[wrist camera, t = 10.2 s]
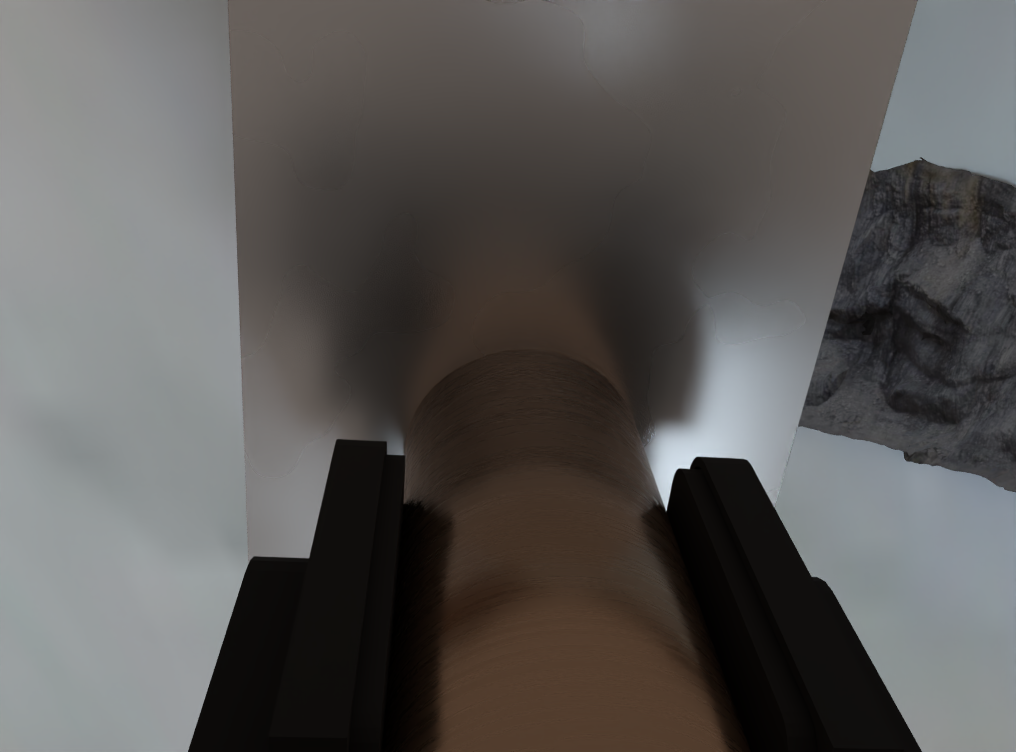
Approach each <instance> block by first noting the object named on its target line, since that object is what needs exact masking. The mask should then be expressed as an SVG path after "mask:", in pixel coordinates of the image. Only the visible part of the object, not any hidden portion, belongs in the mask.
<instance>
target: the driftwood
mask: <svg viewBox="0 0 1016 752" xmlns="http://www.w3.org/2000/svg"><path fill="white" fill-rule="evenodd" d="M921 159H922V160H915V161H914V162H910V163H907V164H904V165H901V166H898V167H894V168H891V169H888V170H883V171H878V172H875V173H874V172H873V171H872V170H870V171H869V175H868V178H867V182H866V185H865V189H864V193H863V196H862V200H861V203H860V207H859V210H858V214H857V217H856V221H855V225H854V228H853V232H852V235H851V239H850V242H849V246H848V249H847V253H846V257H845V260H844V264H843V267H842V271H841V274H840V278H839V281H838V285H837V289H836V292H835V296H834V299H833V303H832V306H831V310H830V313H829V317H828V321H827V324H826V328H825V331H824V335H823V338H822V342H821V345H820V349H819V353H818V356H817V360H816V363H815V367H814V370H813V374H812V377H811V381H810V385H809V388H808V392H807V395H806V399H805V402H804V406H803V409H802V413H801V416H800V420H799V424H798V427H800V426H803V427H807V428H811V429H815V430H820V431H821V432H824V433H828V434H832V435H843V436H846V437H849V438H852V439H858V440H866V441H870V442H874V443H877V444H880V445H885V446H887V447H889V448H891V449H895V450H898V449H899V450H901V451H903V452H904V458H905V460H906V461H912V462H914V463H918V464H929V465H931V466H936V465H938V466H942V467H944V468H947V469H950V470H953V471H961V472H967V473H972V474H976V475H980V476H982V477H985V478H987V479H988V480H990V481H991V482H993V483H994V484H995V485H997V486H999V487H1004V489H1005V490H1008V491H1013V492H1016V188H1015V187H1013V186H1011V185H1008V184H1005V183H1002V182H999V181H995V180H991V179H988V178H985V177H982V176H976V175H975V176H972V174H971V173H970V172H969V171H964V170H953V169H947V168H944V167H940V166H937V165H935V164H932V163H930V162H927V161H926V160H924V159H923V158H921Z"/></svg>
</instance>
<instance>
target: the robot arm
mask: <svg viewBox="0 0 1016 752" xmlns="http://www.w3.org/2000/svg"><path fill="white" fill-rule="evenodd" d="M404 483H405V455H387V441H369V440H348V439H337V440H336V442H335V446H334V451H333V455H332V459H331V464H330V468H329V473H328V477H327V481H326V486H325V490H324V495H323V499H322V503H321V508H320V512H319V517H318V521H317V525H316V530H315V534H314V539H313V543H312V547H311V552H310V556H309V558H288V557H261V556H254V557H253V558H252V559H251V560H250V562H249V564H248V567H247V569H246V572H245V575H244V578H243V581H242V584H241V587H240V591H239V594H238V597H237V600H236V603H235V606H234V609H233V612H232V616H231V619H230V622H229V625H228V628H227V631H226V634H225V638H224V641H223V644H222V647H221V650H220V653H219V656H218V659H217V663H216V666H215V669H214V672H213V675H212V678H211V681H210V684H209V688H208V691H207V694H206V697H205V700H204V703H203V706H202V710H201V713H200V716H199V719H198V722H197V725H196V728H195V731H194V735H193V738H192V741H191V744H190V747H189V750H188V752H382V744H383V733H384V721H385V710H386V699H387V687H388V676H389V664H390V653H391V642H392V630H393V619H394V607H395V596H396V585H397V573H398V562H399V550H400V539H401V528H402V516H403V505H404ZM666 512H667V515H668V518H669V521H670V524H671V526H672V529H673V532H674V535H675V538H676V541H677V543H678V546H679V549H680V552H681V555H682V558H683V560H684V563H685V566H686V569H687V572H688V575H689V578H690V580H691V583H692V586H693V589H694V592H695V595H696V597H697V600H698V603H699V606H700V609H701V612H702V614H703V617H704V620H705V623H706V626H707V629H708V631H709V634H710V637H711V640H712V643H713V646H714V648H715V651H716V654H717V657H718V660H719V663H720V665H721V668H722V671H723V674H724V677H725V680H726V682H727V685H728V688H729V691H730V694H731V697H732V699H733V702H734V705H735V708H736V711H737V714H738V716H739V719H740V722H741V725H742V728H743V731H744V734H745V736H746V739H747V742H748V745H749V748H750V751H751V752H922V751H921V749H920V747H919V746H918V744H917V742H916V740H915V738H914V737H913V735H912V733H911V731H910V729H909V728H908V726H907V724H906V722H905V720H904V719H903V717H902V715H901V713H900V711H899V710H898V708H897V706H896V704H895V703H894V701H893V699H892V697H891V695H890V694H889V692H888V690H887V688H886V686H885V685H884V683H883V681H882V679H881V677H880V676H879V674H878V672H877V670H876V668H875V667H874V665H873V663H872V661H871V659H870V658H869V656H868V654H867V652H866V650H865V649H864V647H863V645H862V643H861V641H860V640H859V638H858V636H857V634H856V632H855V631H854V629H853V627H852V625H851V623H850V622H849V620H848V618H847V616H846V615H845V613H844V611H843V609H842V607H841V606H840V604H839V602H838V600H837V598H836V597H835V595H834V593H833V591H832V590H831V589H830V587H829V586H828V585H827V583H826V582H825V581H823V580H821V579H819V578H818V577H811V575H810V573H809V571H808V570H807V568H806V566H805V564H804V562H803V560H802V558H801V557H800V555H799V553H798V551H797V549H796V547H795V545H794V543H793V542H792V540H791V538H790V536H789V534H788V532H787V530H786V529H785V527H784V525H783V523H782V521H781V519H780V517H779V516H778V514H777V512H776V510H775V508H774V506H773V504H772V503H771V501H770V499H769V497H768V495H767V493H766V491H765V489H764V488H763V486H762V484H761V482H760V480H759V478H758V476H757V475H756V473H755V471H754V469H753V467H752V465H751V464H750V463H749V461H748V460H746V459H738V458H718V457H698V456H697V457H696V458H695V459H694V460H693V462H692V464H691V466H690V469H683V468H679V469H677V470H676V472H675V474H674V477H673V481H672V486H671V491H670V496H669V501H668V506H667V511H666Z"/></svg>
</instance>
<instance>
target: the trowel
mask: <svg viewBox="0 0 1016 752" xmlns="http://www.w3.org/2000/svg"><path fill="white" fill-rule="evenodd" d="M917 1H918V0H228V11H229V38H230V66H231V93H232V121H233V149H234V176H235V204H236V231H237V259H238V286H239V314H240V341H241V369H242V396H243V424H244V451H245V479H246V506H247V534H248V561H249V562H250V560H251V559H252V558H253V557H254V556H261V557H288V558H309V556H310V552H311V547H312V543H313V539H314V534H315V530H316V525H317V521H318V517H319V512H320V508H321V503H322V499H323V495H324V490H325V486H326V481H327V477H328V473H329V468H330V464H331V459H332V455H333V451H334V446H335V442H336V440H337V439H348V440H369V441H387V455H405V483H404V505H403V516H402V528H401V539H400V550H399V562H398V573H397V585H396V596H395V607H394V619H393V630H392V642H391V653H390V664H389V676H388V687H387V699H386V710H385V721H384V733H383V744H382V752H751V751H750V748H749V745H748V742H747V739H746V736H745V734H744V731H743V728H742V725H741V722H740V719H739V716H738V714H737V711H736V708H735V705H734V702H733V699H732V697H731V694H730V691H729V688H728V685H727V682H726V680H725V677H724V674H723V671H722V668H721V665H720V663H719V660H718V657H717V654H716V651H715V648H714V646H713V643H712V640H711V637H710V634H709V631H708V629H707V626H706V623H705V620H704V617H703V614H702V612H701V609H700V606H699V603H698V600H697V597H696V595H695V592H694V589H693V586H692V583H691V580H690V578H689V575H688V572H687V569H686V566H685V563H684V560H683V558H682V555H681V552H680V549H679V546H678V543H677V541H676V538H675V535H674V532H673V529H672V526H671V524H670V521H669V518H668V515H667V512H666V511H667V506H668V501H669V496H670V491H671V486H672V481H673V477H674V474H675V472H676V470H677V469H679V468H683V469H690V466H691V464H692V462H693V460H694V459H695V458H696V457H697V456H698V457H718V458H738V459H746V460H748V461H749V463H750V464H751V465H752V467H753V469H754V471H755V473H756V475H757V476H758V478H759V480H760V482H761V484H762V486H763V488H764V489H765V491H766V493H767V495H768V497H769V499H770V501H771V503H772V504H773V506H774V508H775V505H776V502H777V498H778V495H779V491H780V488H781V484H782V480H783V477H784V473H785V470H786V466H787V463H788V459H789V456H790V452H791V448H792V445H793V441H794V438H795V434H796V431H797V427H798V424H799V420H800V416H801V413H802V409H803V406H804V402H805V399H806V395H807V392H808V388H809V385H810V381H811V377H812V374H813V370H814V367H815V363H816V360H817V356H818V353H819V349H820V345H821V342H822V338H823V335H824V331H825V328H826V324H827V321H828V317H829V313H830V310H831V306H832V303H833V299H834V296H835V292H836V289H837V285H838V281H839V278H840V274H841V271H842V267H843V264H844V260H845V257H846V253H847V249H848V246H849V242H850V239H851V235H852V232H853V228H854V225H855V221H856V217H857V214H858V210H859V207H860V203H861V200H862V196H863V193H864V189H865V185H866V182H867V178H868V175H869V171H870V168H871V164H872V161H873V157H874V154H875V150H876V146H877V143H878V139H879V136H880V132H881V129H882V125H883V122H884V118H885V114H886V111H887V107H888V104H889V100H890V97H891V93H892V90H893V86H894V82H895V79H896V75H897V72H898V68H899V65H900V61H901V58H902V54H903V50H904V47H905V43H906V40H907V36H908V33H909V29H910V26H911V22H912V18H913V15H914V11H915V8H916V4H917Z"/></svg>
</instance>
